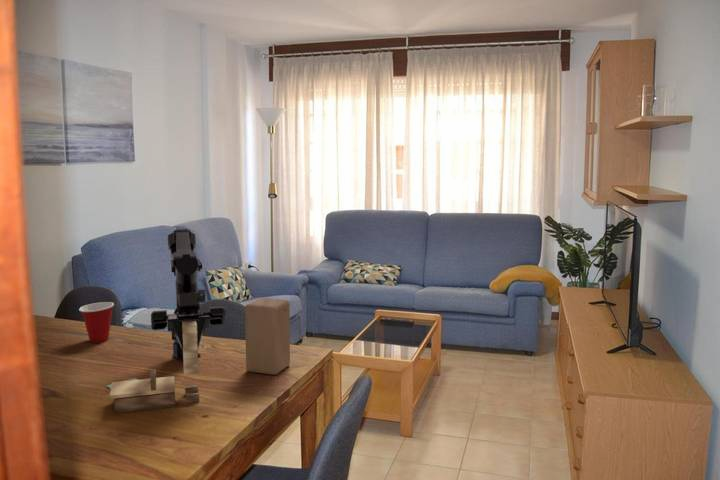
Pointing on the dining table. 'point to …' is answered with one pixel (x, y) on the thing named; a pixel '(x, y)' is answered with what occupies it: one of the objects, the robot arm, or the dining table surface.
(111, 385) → the felt pad
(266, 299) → the wooden block
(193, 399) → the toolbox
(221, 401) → the dining table surface
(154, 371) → the lid
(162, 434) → the dining table surface
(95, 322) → the plastic cup
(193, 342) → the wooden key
